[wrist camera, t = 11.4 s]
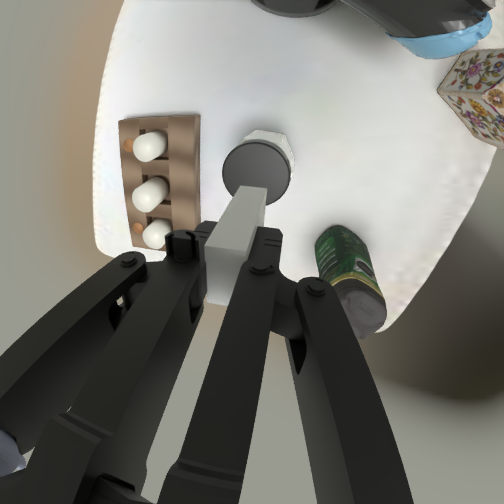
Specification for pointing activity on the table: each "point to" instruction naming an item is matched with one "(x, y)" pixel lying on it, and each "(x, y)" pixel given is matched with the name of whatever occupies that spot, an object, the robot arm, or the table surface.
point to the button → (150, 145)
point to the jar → (260, 164)
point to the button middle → (150, 194)
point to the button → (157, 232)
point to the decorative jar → (478, 93)
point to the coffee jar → (351, 279)
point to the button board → (163, 172)
